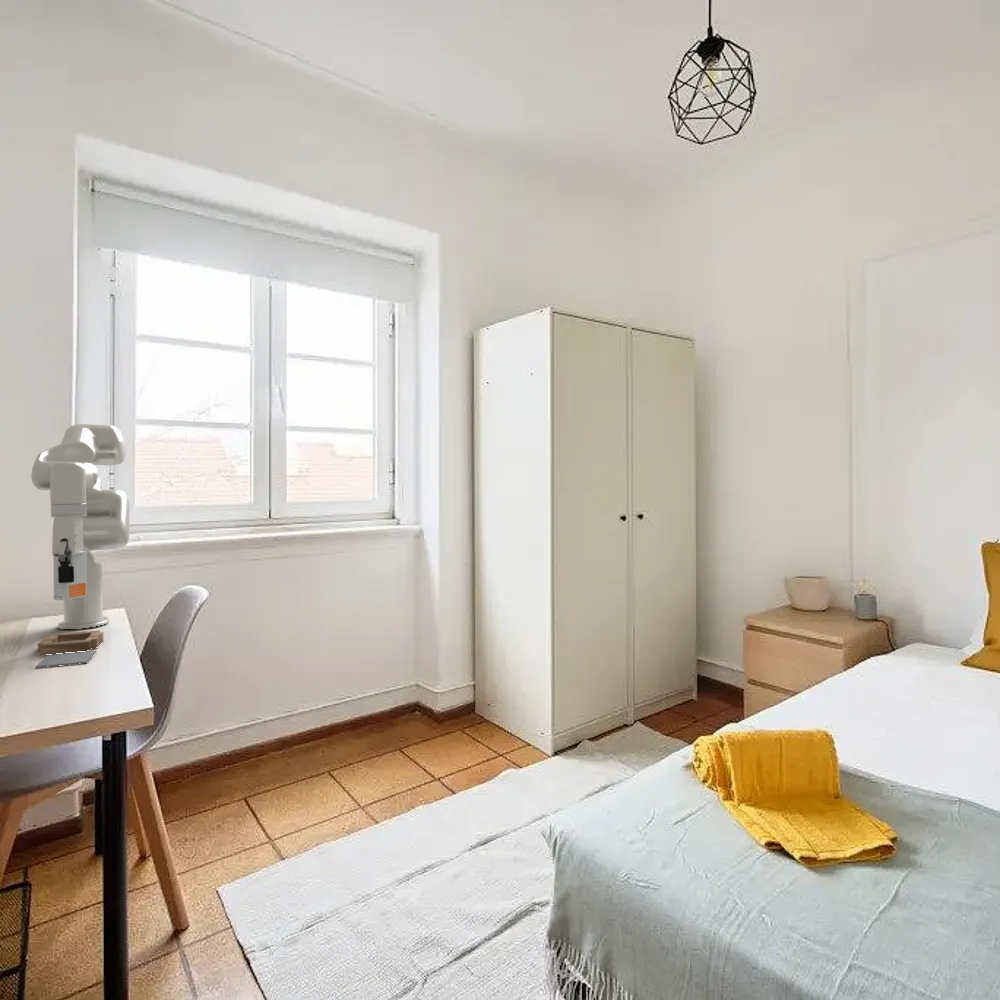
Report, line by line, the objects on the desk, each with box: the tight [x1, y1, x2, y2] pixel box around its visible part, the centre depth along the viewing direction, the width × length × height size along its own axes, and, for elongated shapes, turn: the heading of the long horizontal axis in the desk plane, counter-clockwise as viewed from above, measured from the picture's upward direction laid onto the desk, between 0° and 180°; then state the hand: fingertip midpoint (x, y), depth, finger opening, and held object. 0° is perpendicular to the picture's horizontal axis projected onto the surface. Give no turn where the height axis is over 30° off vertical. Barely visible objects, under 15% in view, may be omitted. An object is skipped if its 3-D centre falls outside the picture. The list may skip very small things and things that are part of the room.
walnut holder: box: [37, 630, 104, 656], centre depth 159 cm, size 12×12×2 cm
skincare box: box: [53, 551, 87, 601], centre depth 158 cm, size 6×4×12 cm
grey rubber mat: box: [35, 650, 98, 669], centre depth 147 cm, size 10×10×1 cm
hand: (70, 579), depth 158 cm, fingers closed on skincare box, 7 cm apart
